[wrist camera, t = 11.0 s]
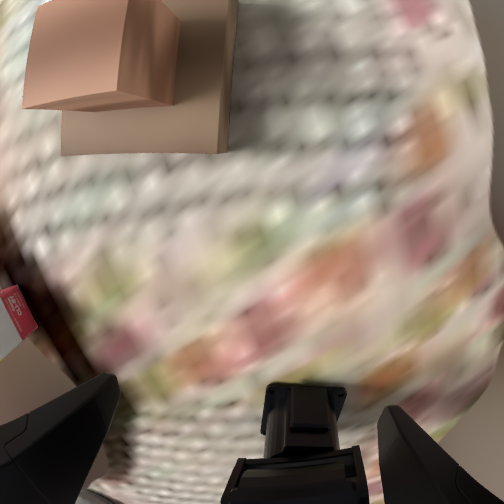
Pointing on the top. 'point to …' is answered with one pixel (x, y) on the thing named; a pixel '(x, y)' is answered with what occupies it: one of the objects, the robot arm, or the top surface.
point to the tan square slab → (185, 95)
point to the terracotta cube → (101, 55)
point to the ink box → (14, 320)
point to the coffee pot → (91, 498)
